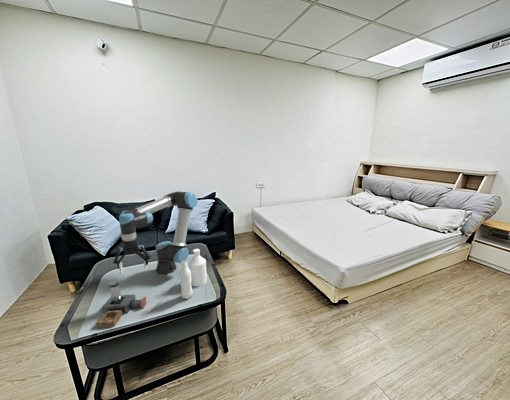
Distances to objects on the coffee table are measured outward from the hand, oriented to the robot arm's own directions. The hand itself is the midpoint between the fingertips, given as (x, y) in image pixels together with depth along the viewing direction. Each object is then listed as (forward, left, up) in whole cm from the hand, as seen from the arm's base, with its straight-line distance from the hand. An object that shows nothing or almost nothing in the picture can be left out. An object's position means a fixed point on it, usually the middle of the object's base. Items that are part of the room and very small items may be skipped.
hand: (134, 271), depth 133 cm
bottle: (-36, -16, -21) cm, 44 cm away
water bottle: (-31, 0, -21) cm, 37 cm away
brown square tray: (+8, +16, -21) cm, 28 cm away
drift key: (-2, +6, -21) cm, 21 cm away
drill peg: (+9, +6, -21) cm, 24 cm away
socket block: (+9, +6, -21) cm, 24 cm away
